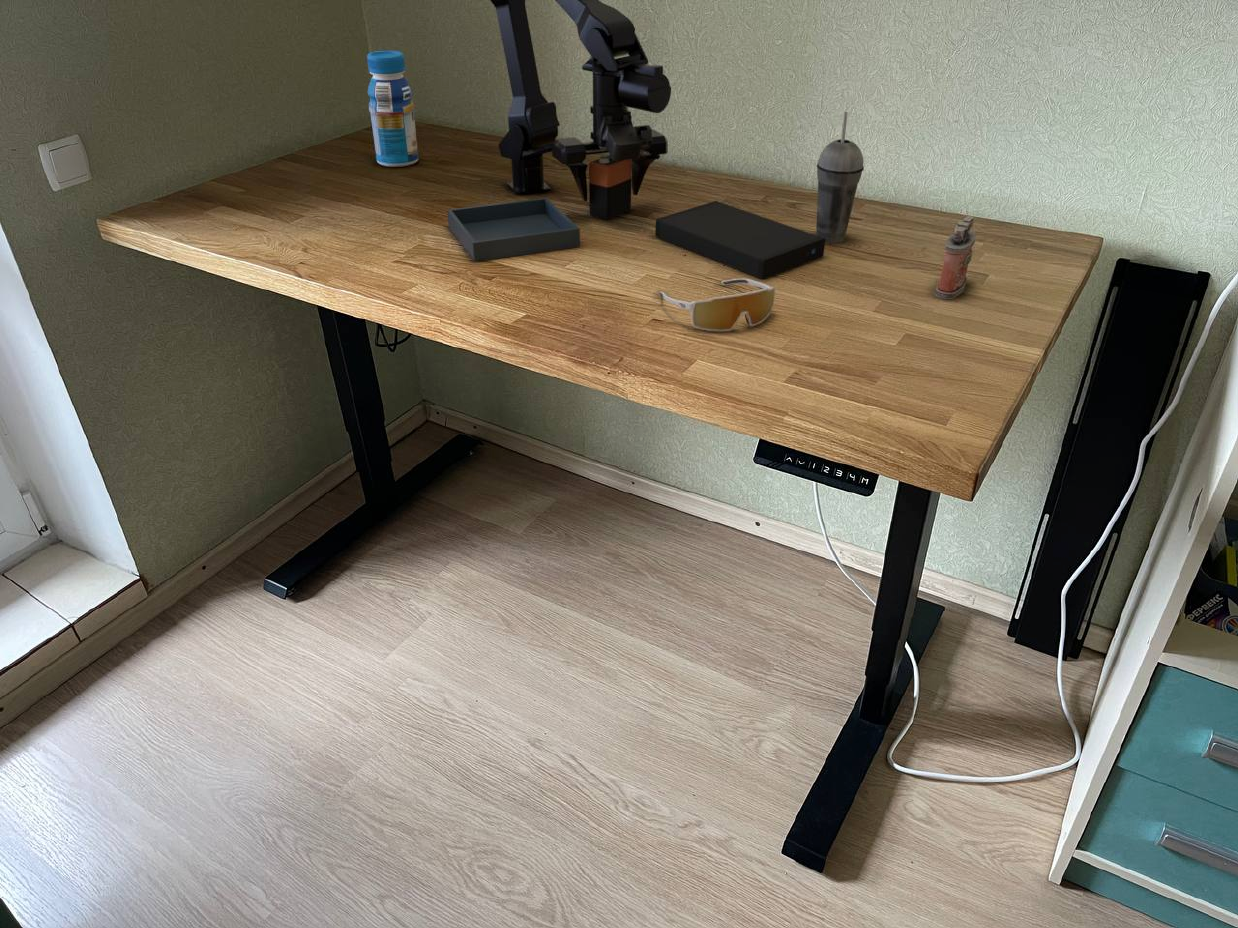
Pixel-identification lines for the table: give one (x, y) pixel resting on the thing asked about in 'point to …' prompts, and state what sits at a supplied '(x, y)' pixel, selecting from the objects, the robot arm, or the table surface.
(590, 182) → the battery
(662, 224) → the external hard drive
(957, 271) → the lighter
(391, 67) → the beverage bottle
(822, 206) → the beverage cup
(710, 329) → the sunglasses
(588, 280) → the table surface
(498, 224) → the tray
